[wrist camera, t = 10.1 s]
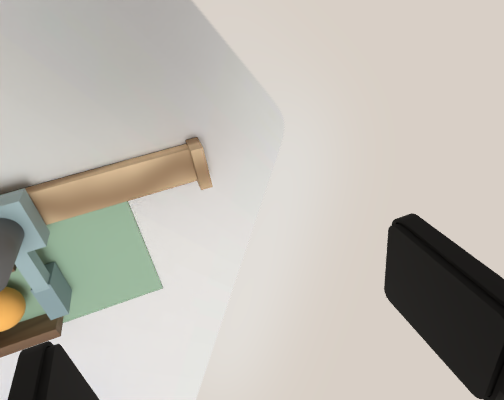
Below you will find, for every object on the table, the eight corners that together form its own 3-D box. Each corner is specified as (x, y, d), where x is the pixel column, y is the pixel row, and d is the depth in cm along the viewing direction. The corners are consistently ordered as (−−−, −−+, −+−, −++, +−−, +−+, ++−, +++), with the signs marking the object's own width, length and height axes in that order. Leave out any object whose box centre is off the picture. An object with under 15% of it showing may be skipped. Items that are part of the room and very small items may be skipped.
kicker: (-31, 197, 32) (-79, 265, 24) (27, 181, 33) (0, 242, 25) (40, 301, 40) (22, 379, 32) (86, 285, 41) (80, 358, 33)
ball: (-23, 318, 33) (21, 284, 36) (-47, 304, 35) (-3, 273, 38) (2, 347, 35) (42, 313, 38) (-21, 333, 37) (18, 301, 40)
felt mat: (-86, 263, 34) (-87, 264, 34) (127, 200, 38) (127, 201, 38) (-11, 347, 41) (-12, 348, 41) (162, 287, 45) (162, 288, 45)
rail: (-55, 205, 32) (-69, 222, 30) (196, 137, 37) (202, 147, 34) (-27, 242, 35) (-38, 261, 32) (206, 174, 39) (212, 186, 37)
